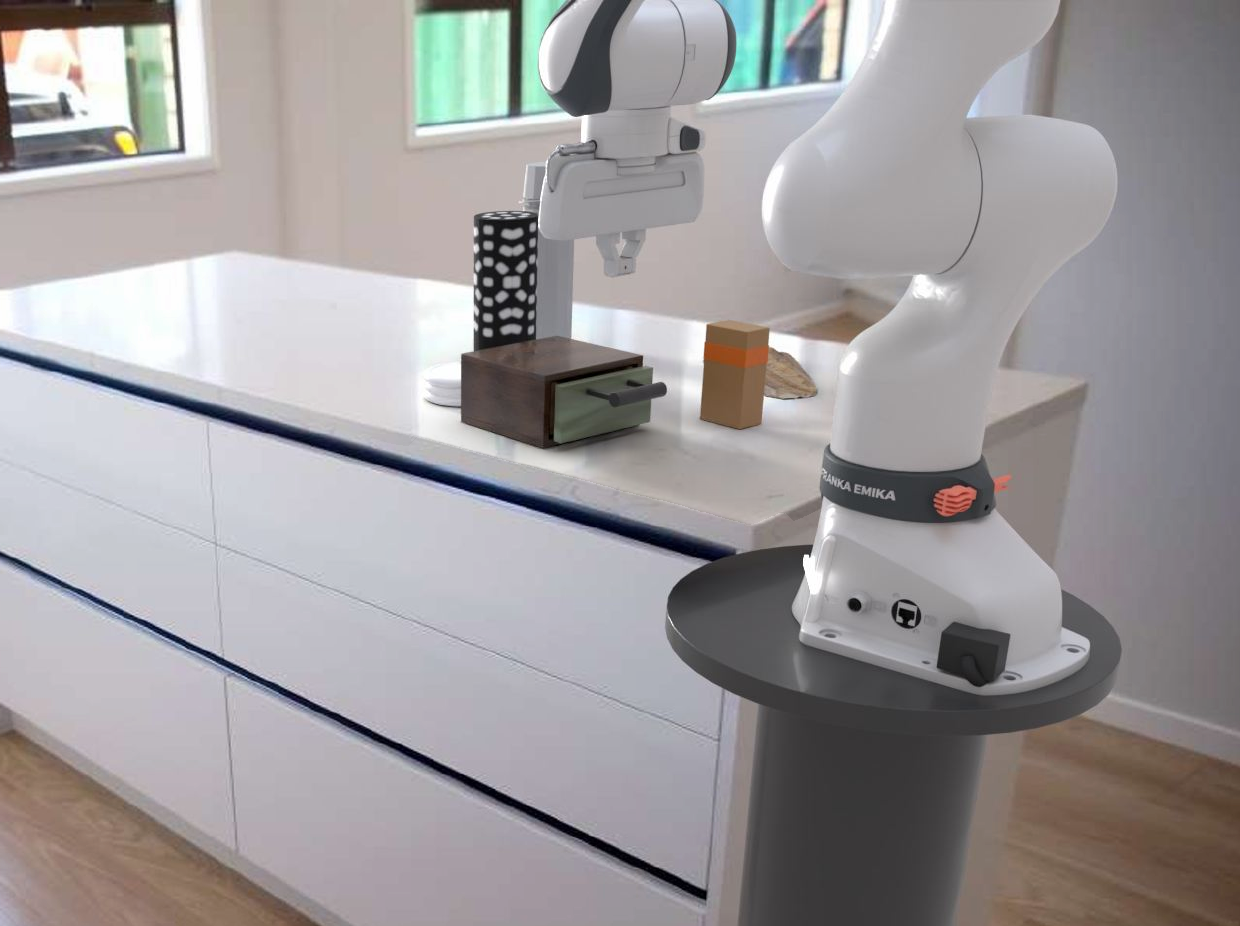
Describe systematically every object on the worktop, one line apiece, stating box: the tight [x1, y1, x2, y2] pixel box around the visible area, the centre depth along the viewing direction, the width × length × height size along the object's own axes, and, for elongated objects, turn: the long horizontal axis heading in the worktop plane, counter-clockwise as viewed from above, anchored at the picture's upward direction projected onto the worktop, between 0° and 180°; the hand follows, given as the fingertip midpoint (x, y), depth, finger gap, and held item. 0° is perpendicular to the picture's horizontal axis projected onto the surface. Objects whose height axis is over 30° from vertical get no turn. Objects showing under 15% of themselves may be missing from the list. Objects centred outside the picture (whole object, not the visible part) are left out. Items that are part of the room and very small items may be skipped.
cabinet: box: [460, 336, 644, 449], centre depth 163 cm, size 15×15×8 cm
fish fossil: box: [703, 346, 819, 400], centre depth 181 cm, size 26×10×1 cm, turn 9°
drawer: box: [549, 365, 668, 444], centre depth 158 cm, size 19×13×6 cm
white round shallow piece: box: [423, 361, 461, 407], centre depth 176 cm, size 10×10×4 cm
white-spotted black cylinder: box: [473, 210, 539, 351], centre depth 187 cm, size 8×8×20 cm
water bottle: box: [518, 161, 575, 339], centre depth 197 cm, size 9×8×25 cm
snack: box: [699, 319, 771, 430], centre depth 160 cm, size 6×4×11 cm, turn 32°
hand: (619, 275), depth 149 cm, fingers closed
